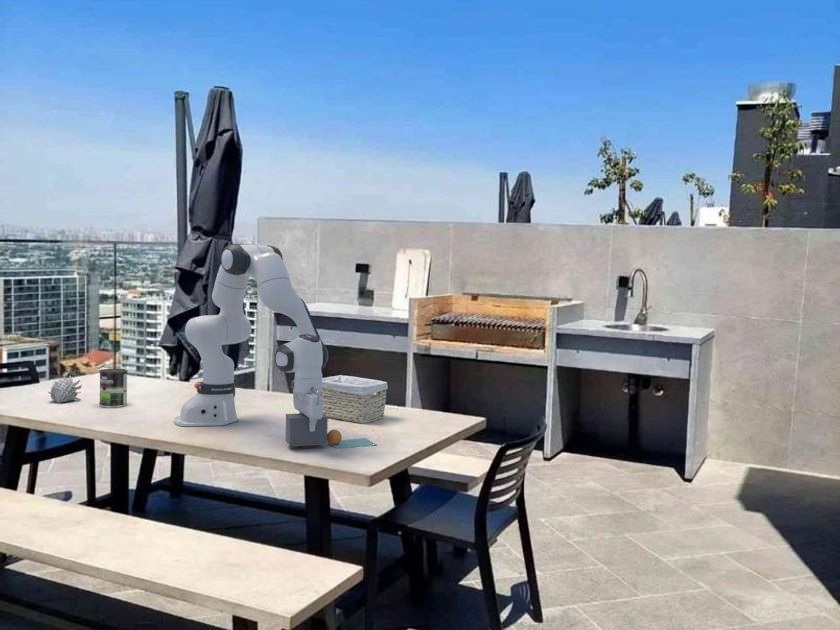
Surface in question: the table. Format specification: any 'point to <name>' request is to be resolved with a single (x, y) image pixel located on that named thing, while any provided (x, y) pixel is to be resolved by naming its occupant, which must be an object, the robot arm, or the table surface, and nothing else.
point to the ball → (334, 437)
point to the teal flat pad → (353, 443)
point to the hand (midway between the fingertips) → (307, 428)
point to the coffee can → (113, 388)
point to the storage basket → (353, 398)
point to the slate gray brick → (305, 430)
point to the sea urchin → (64, 390)
